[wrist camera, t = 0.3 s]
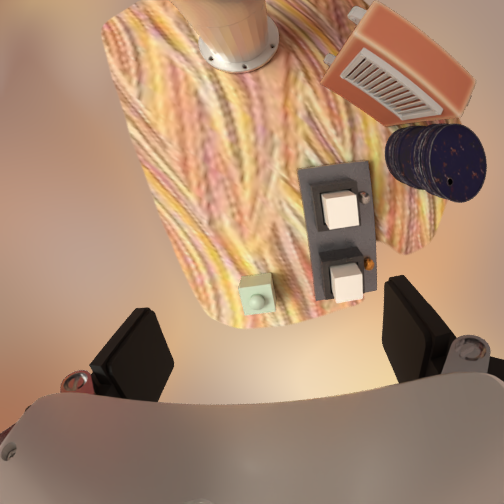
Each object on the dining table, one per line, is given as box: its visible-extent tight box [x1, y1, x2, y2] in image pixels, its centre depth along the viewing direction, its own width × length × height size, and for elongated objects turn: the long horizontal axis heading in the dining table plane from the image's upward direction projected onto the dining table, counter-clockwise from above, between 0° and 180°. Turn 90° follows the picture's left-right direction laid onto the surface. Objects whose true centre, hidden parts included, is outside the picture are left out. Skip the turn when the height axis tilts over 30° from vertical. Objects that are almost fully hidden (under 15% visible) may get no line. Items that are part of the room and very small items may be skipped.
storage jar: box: [385, 124, 487, 203], centre depth 32 cm, size 10×10×15 cm
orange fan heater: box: [320, 0, 476, 127], centre depth 27 cm, size 21×7×15 cm
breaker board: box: [297, 160, 377, 301], centre depth 42 cm, size 22×11×6 cm, turn 11°
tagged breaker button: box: [329, 263, 363, 303], centre depth 41 cm, size 4×4×5 cm
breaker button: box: [320, 189, 359, 229], centre depth 37 cm, size 4×4×5 cm
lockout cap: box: [238, 273, 276, 315], centre depth 47 cm, size 5×5×6 cm
